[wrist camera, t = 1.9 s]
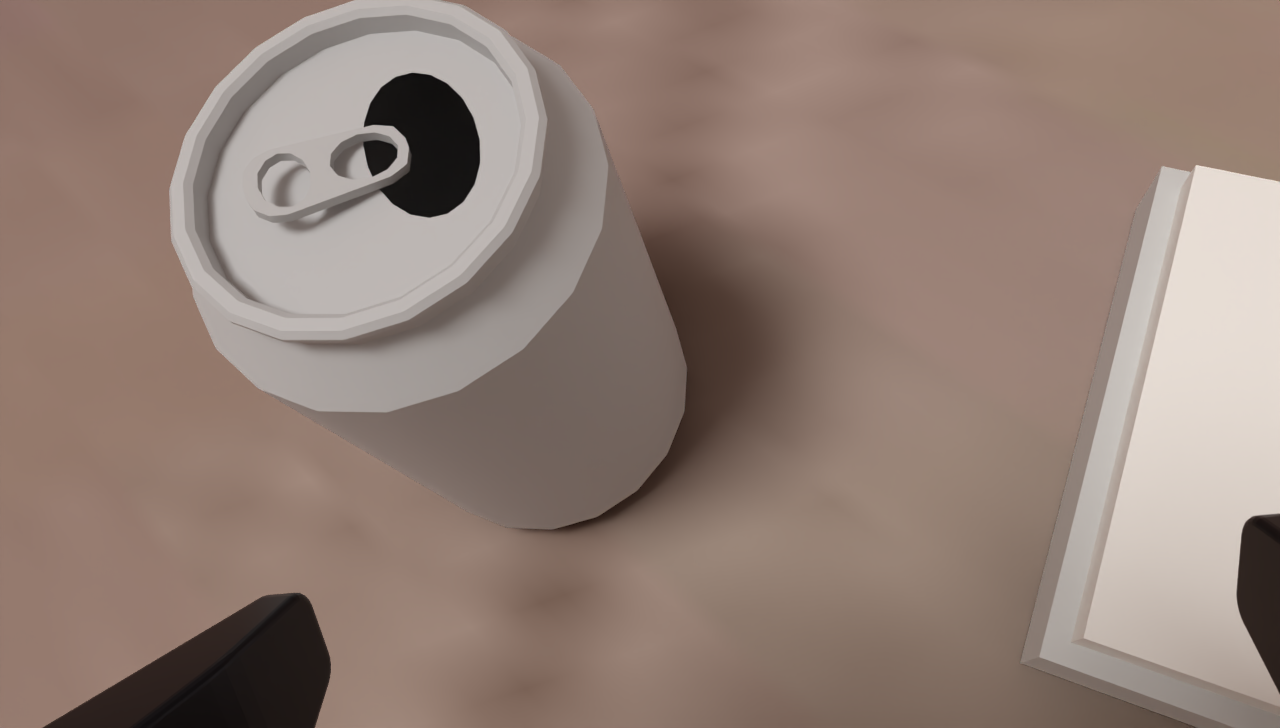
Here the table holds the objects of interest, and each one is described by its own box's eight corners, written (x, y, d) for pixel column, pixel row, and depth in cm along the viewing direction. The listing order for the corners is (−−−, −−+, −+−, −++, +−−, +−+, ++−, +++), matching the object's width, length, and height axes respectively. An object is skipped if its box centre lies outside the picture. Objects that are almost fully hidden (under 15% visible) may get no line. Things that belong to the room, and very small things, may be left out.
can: (738, 462, 23) (663, 232, 12) (472, 584, 24) (164, 464, 13) (629, 233, 26) (489, -116, 15) (393, 343, 27) (89, 74, 16)
